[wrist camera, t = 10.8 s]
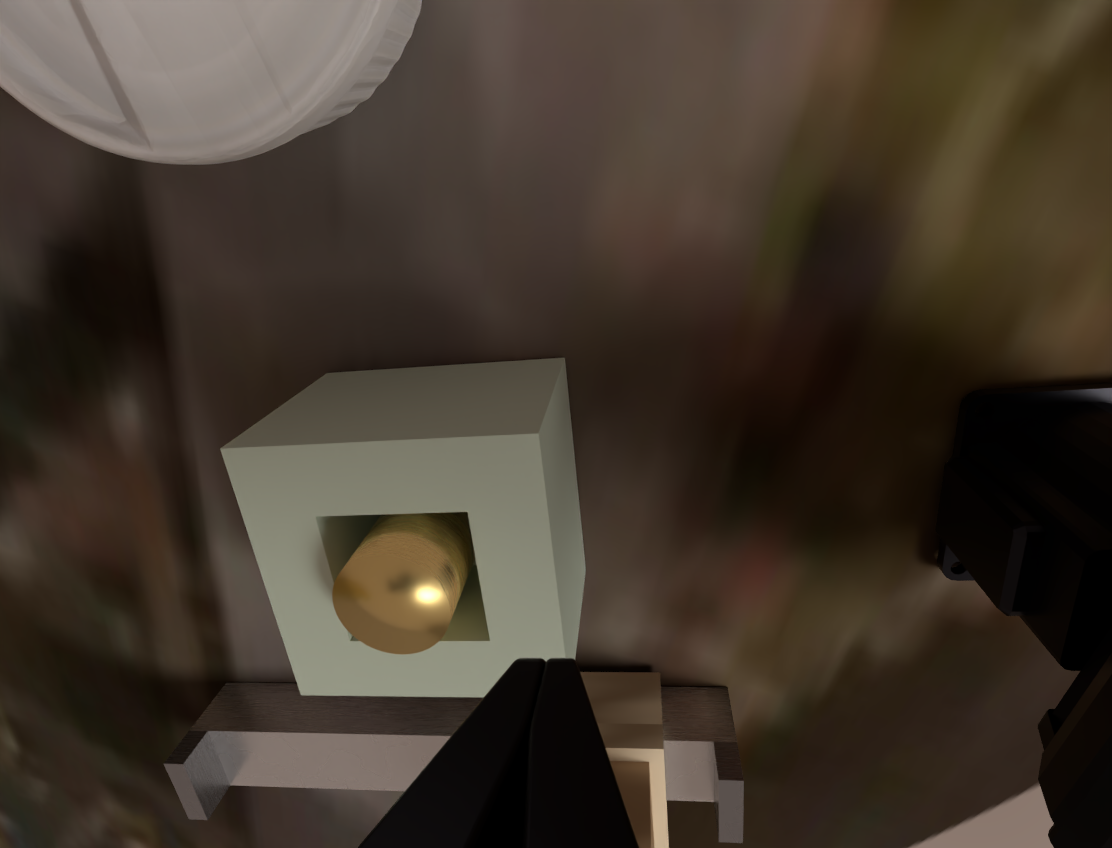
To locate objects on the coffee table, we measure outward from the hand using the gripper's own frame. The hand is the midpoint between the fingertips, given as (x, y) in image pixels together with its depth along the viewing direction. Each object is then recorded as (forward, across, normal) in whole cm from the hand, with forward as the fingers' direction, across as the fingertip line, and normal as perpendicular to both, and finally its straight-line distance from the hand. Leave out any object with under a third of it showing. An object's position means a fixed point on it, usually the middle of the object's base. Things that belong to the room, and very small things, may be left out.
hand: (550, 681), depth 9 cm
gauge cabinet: (+12, +5, +3) cm, 14 cm away
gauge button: (+10, +5, +3) cm, 11 cm away
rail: (+12, +6, +14) cm, 20 cm away
